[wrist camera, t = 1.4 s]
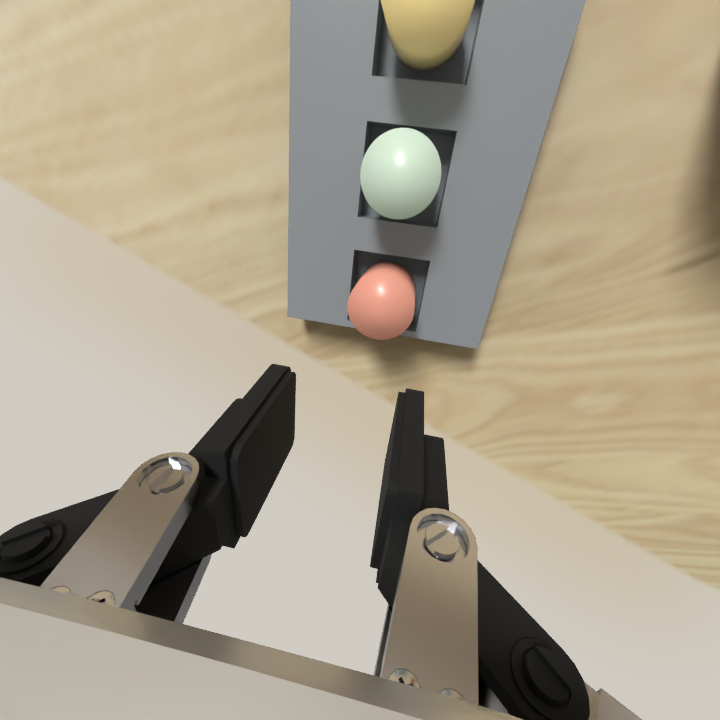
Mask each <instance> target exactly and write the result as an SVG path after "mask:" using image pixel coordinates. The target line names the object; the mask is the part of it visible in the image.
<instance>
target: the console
mask: <svg viewBox="0 0 720 720" xmlns="http://www.w3.org/2000/svg"><path fill="white" fill-rule="evenodd" d="M585 1H586V0H475V2H474V6H473V9H472V13H471V16H470V20H469V24H468V27H467V31H466V34H465V36H464V39H463V41H462V43H461V45H460V46H459V48H458V50H457V51H456V52H455V54H454V55H453V56H452V57H451V58H450V59H449V60H448V61H447V62H446V63H444V64H443V65H441V66H439V67H437V68H435V69H432V70H427V71H420V70H415V69H412V68H410V67H408V66H407V65H405V64H404V63H403V62H402V61H401V60H400V59H399V58H398V56H397V55H396V53H395V51H394V49H393V47H392V44H391V41H390V37H389V33H388V29H387V24H386V20H385V16H384V12H383V8H382V4H381V0H291V20H290V124H289V227H288V317H293V318H298V319H304V320H310V321H316V322H322V323H328V324H334V325H340V326H345V327H351V328H355V327H354V325H353V324H352V322H351V320H350V318H349V315H348V308H347V306H348V299H349V296H350V293H351V291H352V290H353V288H354V287H355V285H356V284H357V282H358V281H359V279H360V278H361V276H362V275H363V273H364V272H365V271H366V270H367V269H368V268H369V267H370V266H372V265H374V264H376V263H378V262H383V261H392V262H396V263H399V264H401V265H402V266H404V267H405V268H406V269H407V270H408V271H409V272H410V273H411V275H412V276H413V278H414V281H415V285H416V297H415V310H414V316H413V319H412V322H411V324H410V325H409V327H408V328H407V329H406V330H405V331H404V332H403V333H402V334H400V335H399V336H404V337H410V338H416V339H422V340H428V341H434V342H440V343H445V344H451V345H457V346H463V347H469V348H475V349H478V347H479V343H480V340H481V337H482V334H483V330H484V327H485V324H486V321H487V318H488V314H489V311H490V308H491V305H492V301H493V298H494V295H495V292H496V288H497V285H498V282H499V279H500V276H501V272H502V269H503V266H504V263H505V259H506V256H507V253H508V250H509V246H510V243H511V240H512V237H513V234H514V230H515V227H516V224H517V221H518V217H519V214H520V211H521V208H522V204H523V201H524V198H525V195H526V192H527V188H528V185H529V182H530V179H531V175H532V172H533V169H534V166H535V162H536V159H537V156H538V153H539V150H540V146H541V143H542V140H543V137H544V133H545V130H546V127H547V124H548V120H549V117H550V114H551V111H552V108H553V104H554V101H555V98H556V95H557V91H558V88H559V85H560V82H561V78H562V75H563V72H564V69H565V65H566V62H567V59H568V56H569V53H570V49H571V46H572V43H573V40H574V36H575V33H576V30H577V27H578V23H579V20H580V17H581V14H582V11H583V7H584V4H585ZM395 128H410V129H414V130H417V131H419V132H421V133H423V134H424V135H425V136H426V137H428V138H429V139H430V141H431V142H432V143H433V144H434V146H435V148H436V150H437V152H438V154H439V157H440V162H441V180H440V184H439V188H438V190H437V193H436V195H435V197H434V198H433V200H432V201H431V203H430V204H429V205H428V206H427V207H426V208H425V209H424V210H423V211H422V212H420V213H419V214H417V215H415V216H413V217H410V218H406V219H391V218H387V217H384V216H382V215H381V214H379V213H378V212H376V211H375V210H374V209H373V208H372V207H371V206H370V205H369V203H368V202H367V200H366V198H365V196H364V194H363V191H362V187H361V180H360V172H361V165H362V161H363V158H364V156H365V153H366V152H367V150H368V148H369V147H370V145H371V144H372V143H373V142H374V141H375V139H377V138H378V137H379V136H380V135H382V134H383V133H385V132H387V131H389V130H392V129H395Z"/></svg>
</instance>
